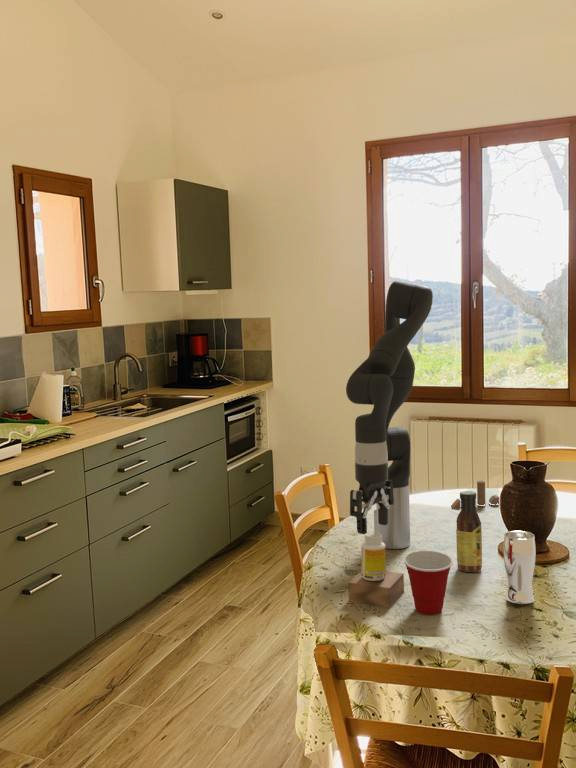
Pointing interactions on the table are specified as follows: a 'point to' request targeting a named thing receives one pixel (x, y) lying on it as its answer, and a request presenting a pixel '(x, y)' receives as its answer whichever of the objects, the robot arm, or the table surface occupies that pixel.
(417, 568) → the plastic cup
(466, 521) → the sauce bottle
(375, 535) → the supplement bottle
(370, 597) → the walnut block
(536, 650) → the table surface
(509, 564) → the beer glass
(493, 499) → the wood blocks
